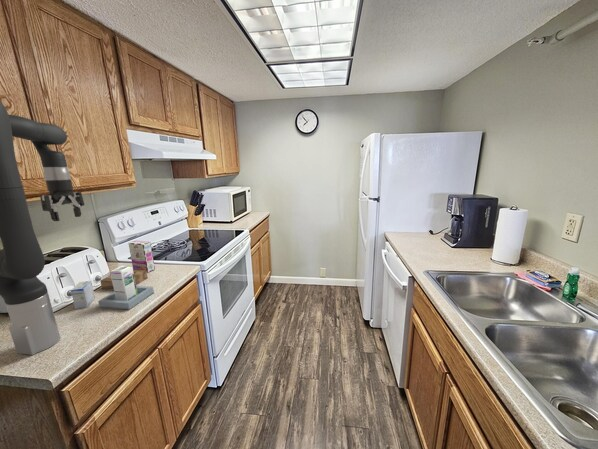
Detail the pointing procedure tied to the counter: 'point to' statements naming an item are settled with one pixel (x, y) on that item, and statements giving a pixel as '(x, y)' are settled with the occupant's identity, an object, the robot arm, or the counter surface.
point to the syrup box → (124, 283)
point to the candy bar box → (141, 255)
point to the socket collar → (138, 274)
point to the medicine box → (82, 294)
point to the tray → (126, 305)
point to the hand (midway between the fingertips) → (67, 218)
